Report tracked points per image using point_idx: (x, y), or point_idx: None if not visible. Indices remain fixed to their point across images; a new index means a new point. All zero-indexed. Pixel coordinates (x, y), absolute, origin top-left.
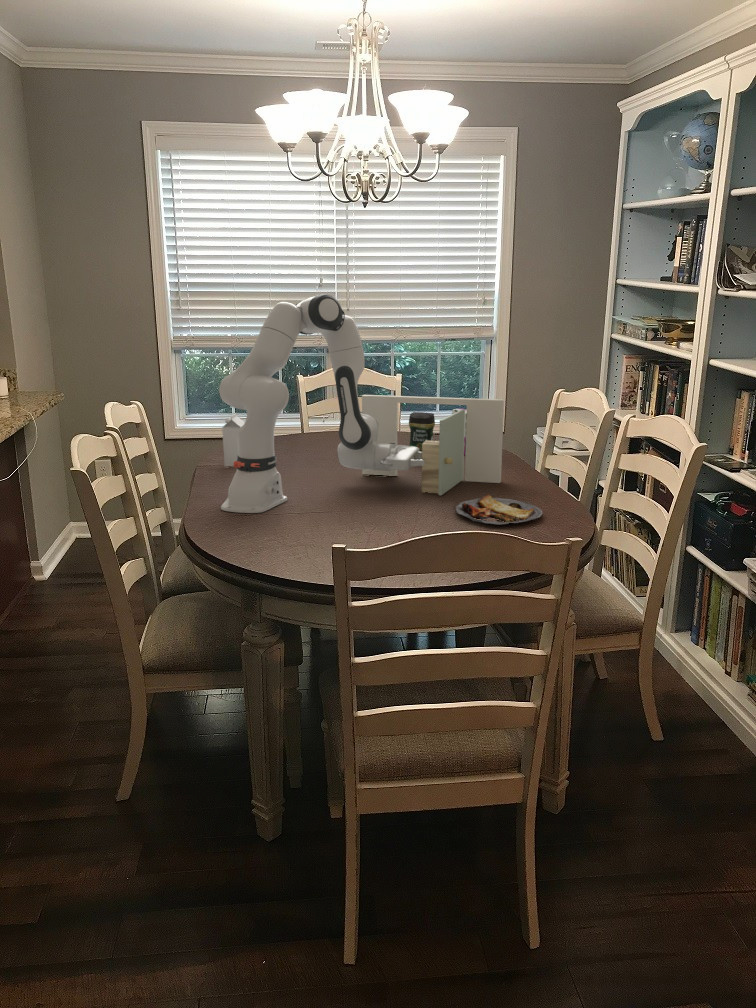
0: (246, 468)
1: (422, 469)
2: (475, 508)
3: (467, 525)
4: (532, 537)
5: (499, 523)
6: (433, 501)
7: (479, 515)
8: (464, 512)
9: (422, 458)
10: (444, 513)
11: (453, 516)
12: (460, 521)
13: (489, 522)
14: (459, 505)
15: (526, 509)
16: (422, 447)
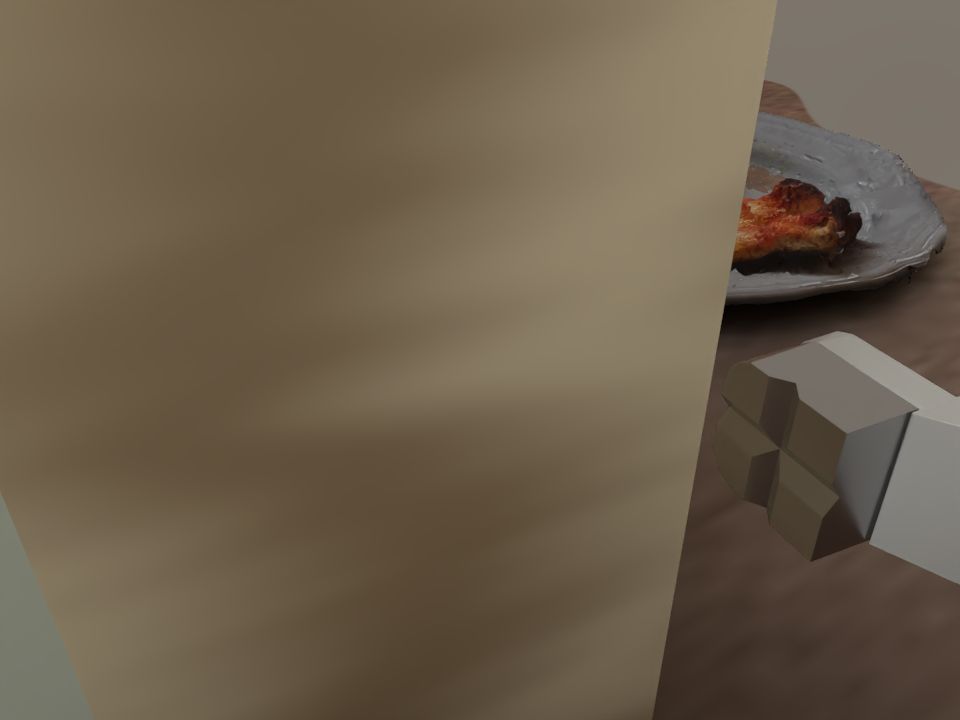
0: None
1: (647, 684)
2: (755, 228)
3: (955, 222)
4: (787, 101)
5: (834, 132)
6: (807, 568)
7: (824, 197)
8: (863, 249)
9: (687, 449)
10: (954, 357)
11: (930, 305)
12: (950, 256)
13: (872, 147)
14: (815, 282)
15: None
16: (754, 63)
